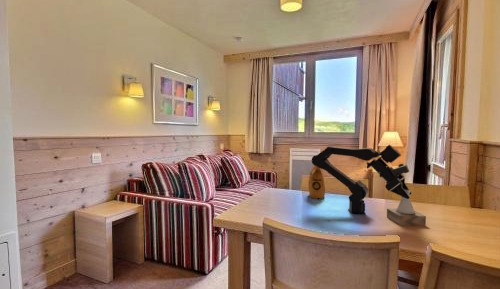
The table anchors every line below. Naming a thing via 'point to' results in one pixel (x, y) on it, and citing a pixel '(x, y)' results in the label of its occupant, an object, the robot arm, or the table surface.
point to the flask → (405, 205)
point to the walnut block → (406, 218)
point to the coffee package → (316, 183)
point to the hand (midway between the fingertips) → (409, 196)
